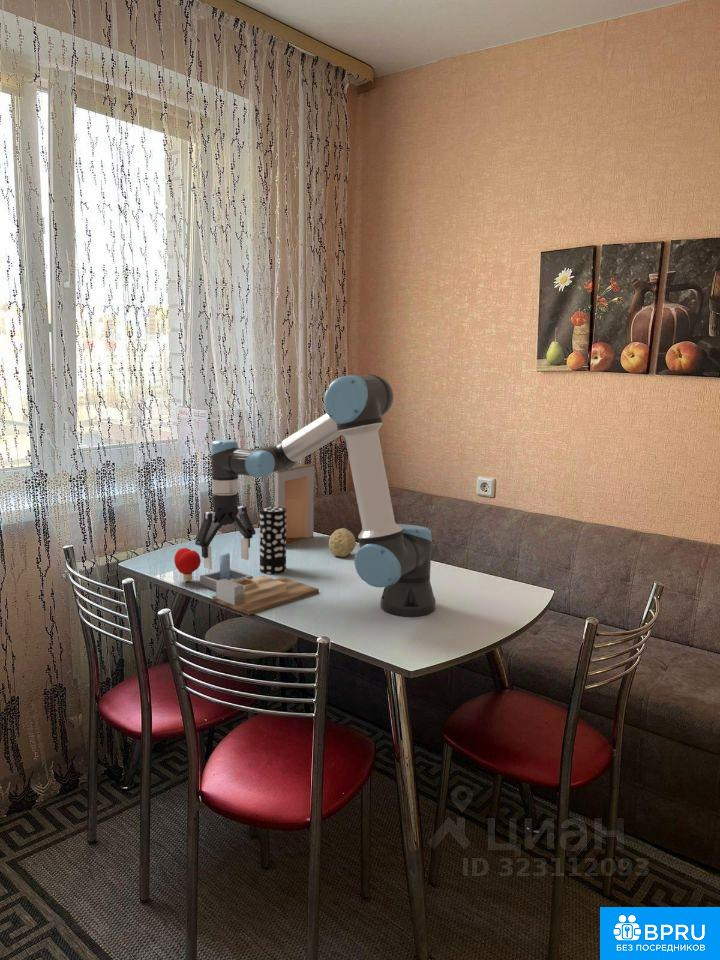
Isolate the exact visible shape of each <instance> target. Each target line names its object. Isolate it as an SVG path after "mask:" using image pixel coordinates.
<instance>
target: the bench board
mask: <svg viewBox="0 0 720 960" xmlns="http://www.w3.org/2000/svg"><path fill="white" fill-rule="evenodd" d="M274 579H275V580H278V581H281V582H284V583H286V592H283V593H280V594H276V595H273V596H269V597H266V598H263V599H259V600H256V601H252V602H249V603H246V602H244V601H243V603H240V604H237V605H233V604H230V603H228V602H225V601H222V600H220V599H217V594H216V595H213V596H211V597H212V600H211V601H212V602H215V603H217V604H219V605H222V606H225V607H228V608H230V609H232V610H235V611H237V612H240V613H243V614H245V615H248V616H251V615H254V614H256V613H260V612H262V611H266V610H269V609H272V608H275V607H279V606H282V605H284V604H287V603H291V602H294V601H297V600H300V599H303V598H307V597H310V596H313V595H316V594H319V593H320V589H319V588H318V587H314V586H311V585H308V584H305V583H302V582H299V581H297V580H293V579H290V578H287V577H283V576H281V577H280V576H279V577H278V578H274Z"/></svg>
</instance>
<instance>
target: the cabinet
mask: <svg viewBox="0 0 720 960" xmlns="http://www.w3.org/2000/svg"><path fill="white" fill-rule="evenodd" d="M314 485H315V463H307V464H296V465H295V466H294V467H292V468H289V469H287V470H280V471H275V472H274V507H283V508H286V547H288V546H291V545H294V544H298V543H300V542H303V541H306V540H309V539H312V538H314V513H315V512H314V510H315V509H314V508H315V507H314V506H315V505H314V503H315V502H314V501H315V500H314V499H315V497H314V496H315V492H314V491H315V486H314Z"/></svg>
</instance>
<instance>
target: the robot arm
mask: <svg viewBox="0 0 720 960" xmlns="http://www.w3.org/2000/svg"><path fill="white" fill-rule="evenodd" d="M394 396H395V395H394V391H393V388H392V386H391V383H389V381H388V380H387V379H385V378H384V377H382V376H380V375H377V374H347V375H344V376H342V375H341V376H340V377H336V378H335V379H334V380H333V381H332V382H331V383H330V384H329V386H328V387H327V388H326V390H325V393H324V397H323V405H324V410H325V412H326V413H324V414H323V415H321V416H319V417H318V418H316V419H315V420H313V421H312V422H309V423H307V424H306V425H305V426H304V427H302V428H301V429H298V430H297V431H295V432H294V433H293V434H291V435H288V437H286V438H284V439H283V440H282V441H279V442H278V443H277V444H275V445H272V446H265V447H258V448H254V449H253V448H251V449H247V448H239V446H238V441H237V440H235V439H234V440H233V439H217V440H214V441H212V443H211V447H210V448H211V452H210V461H211V486H212V487H211V491H212V493H213V494H212V495H211V496H212V497H211V499H212V507H213V511H211V512H209V511H205V512H203V520H202V523H201V526H200V528H199V531H198V534H197V537H196V539H195V542H194V543H195V545H196V546H199V547H200V548H201V557H202V558H203V568H205V569H208V570H212V568H213V567H212V566H213V565H212V563H213V562H212V546H210V544H211V542H212V541H213V539H214V538H215V536H216V535H217V533H218V531H219V530H220V529H221V528H222V526H227V525H233V526H234V527H235V528H236V529H237V530H238V531H239V533H240V534H241V536H242V537H240V559H242V560H246V561H249V559H250V558H249V557H250V556H249V555H250V553H249V552H250V551H249V549H250V548H251V539H253V537H254V535H256V530H255V528H254V526H253V524H252V521H251V519H250V517H249V515H248V509H247V506H243V505H239V493H238V492H239V476H247V477H254V478H267V477H269V476H270V475H271V474H272V473H275V471H280V470H287V469H289V468H292V467H294V466H295V465H298V462H299V461H300V460H302V459H304V458H306V457H307V456H309V455H311V454H312V453H314V452H316V451H317V450H319V449H321V448H322V447H324V446H326V445H328V444H329V443H332V442H333V441H334V440H336V439H338V438H340V437H341V436H342V437H343V438H344V440H345V446H346V449H347V454H348V461H349V465H350V470H351V471H350V472H351V476H352V481H353V485H354V486H353V487H354V491H355V496H356V497H355V498H356V503H357V507H358V512H359V519H360V523H361V531H360V533H359V534H358V536H357V540H358V544H359V549H358V550H357V552H356V554H355V556H354V568H355V571H356V573H357V575H358V577H359V578H360V579H361V580H362V581H364V582H365V583H366V584H367V585H369V586H370V587H371V586H372V587H374V588H384V589H383V590H382V591H383V592H382V595H381V597H380V608H381V609H382V611H384V612H387V613H389V614H391V615H397V616H402V617H421V616H425V615H429V614H431V613H433V612H435V610H436V601H437V600H436V598H435V596H434V592H433V588H432V584H431V563H432V562H431V561H432V545H433V540H432V531H431V529H429V528H428V527H425V526H422V525H415V524H406V523H405V524H403V523H396V521H395V519H396V518H395V515H394V509H393V505H392V499H391V498H392V497H391V493H390V488H389V482H388V477H387V474H386V473H387V472H386V467H385V461H384V457H383V456H384V455H383V450H382V446H381V440H380V435H379V430H380V429H381V427H382V426H383V419H382V418H383V416H385V415H386V414H387V413H388V412H389V411H390V409H391V408H392V406H393V404H394ZM238 514H239V517H238ZM239 518H240V519H241V520H240V519H239ZM241 521H242V522H241Z"/></svg>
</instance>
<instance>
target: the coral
mask: <svg viewBox="0 0 720 960" xmlns="http://www.w3.org/2000/svg"><path fill="white" fill-rule="evenodd" d="M356 542H357V541H356V537H355V535H354V533H353V532H352V531H350V530H349V529H348V528H345V527H342V528H338V529H335V530H334V531H333V533H331V535H330V537H329V540H328V547H329V550H330V552H331V554H332V555H333V556H334V557H338V558H339V557H340V558H345V557H347V556H348V555H349V554H351V553H352V552H353V551H354V550H355V547H356Z"/></svg>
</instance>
